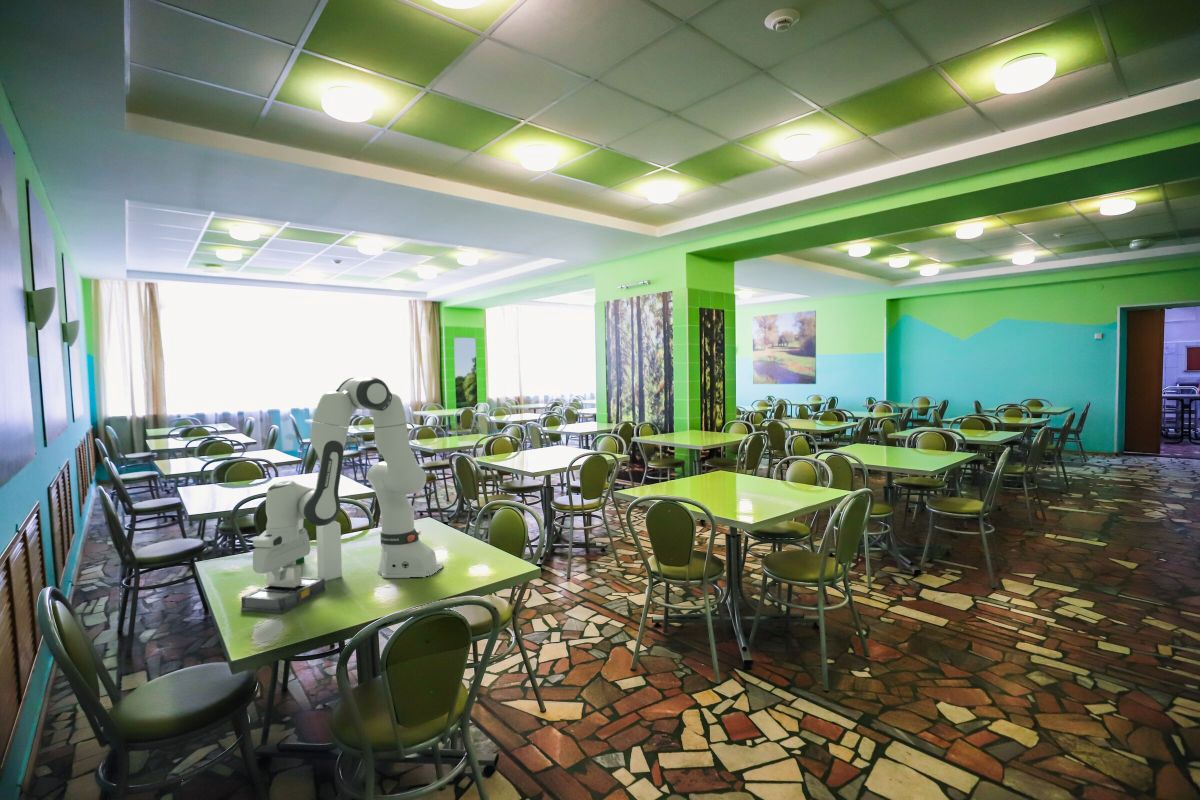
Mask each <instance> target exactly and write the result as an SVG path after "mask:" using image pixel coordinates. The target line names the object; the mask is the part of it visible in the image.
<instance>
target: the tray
mask: <svg viewBox="0 0 1200 800" xmlns="http://www.w3.org/2000/svg"><path fill="white" fill-rule="evenodd" d="M301 583H302V584H301V585H299V586H297V587H295V588H294V587H280V586H267V585H265V586H262V587H260V588H259V589H256V590H254V591H252V592H250V593H247V594H246V595H243V596H241V607H240V611H241V612H253V613H263V614H277V615H283V614H284V613H286V612H288V611H290V610H292V609H293V608H296V607H298V606H299V605H301V604H302V603H305V602H307V601H308V600H310V599H312V598H313V597H316V596H317V595H319V594H321V593H323V592H325V591H326V581H325V578H319V577H310V576H308V577H307V576H301Z"/></svg>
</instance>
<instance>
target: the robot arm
mask: <svg viewBox="0 0 1200 800" xmlns="http://www.w3.org/2000/svg"><path fill="white" fill-rule="evenodd" d="M357 410H368V411H369V412H370V413H371V416H372V423H373V431H374V441H375V446H376V450H377V451H378V452H379V454H380V455H381V456H382V457H383V459H384V461H378V462H376V463H374V464H373V465H371V466H370V468H369V469H368V472H367V481H368V483H369V484H370V485H371V487H372V489H373V491H374V492H375V494H376V498H377V501H378V505H379V509H380V520H381V531H380V545H381V549H380V551H381V552H380V553H381V554H380V561H379V566H378V570H377V573H378V574H379V575H381V578H383V579H402V578H403V579H405V578H406V579H411V578H410V577H423V578H427V577H426V576H428V577H430V576H433V575H434V573H435V572H436V573H438V572H439V571H440V570H439V569H440V568H441V567H442V566H443V567H444V564H443V562H439V561H437V556H436V553H435V551H434V549H432V548H431V547H430V546H428V545H427V544H426V543H425V542H424V541H422V540H420V535H421V533H422V532H421V531H418V532H417V530H416V529H415V515H414V514H415V513H414V507H413V505H412V504H411V502H410V501H409V499H408V496H407V495H413V494H417V493H420V492H421V491H422V490H423V489H424V488H425V486H426V483H427V474H426V471H425V470H424V469H423V468H422V467H421V465H420V464H419V462H418V461H417V460H416V457H415V456H414V455H415V454H414V453H413V450H412V447H411V444H410V439H409V433H408V425H407V417H406V412H405V407H404V404H403V402H402V398H401V397H400V396H399V395H397V394H395V393H391V391H390V389H389V386H388V385H387V384H386V383H385V382H384V381H383V380H381V379H380V378H377V377H373V376H371V377H370V376H369V377H368V376H359V377H351V378H348V379H346V380H344V381H343V382H342V383H341V384H340V385H339V387H338V388H337V389H336V390H335V391H334V390H331V391H328V392H325V393H324V394H322V396H321V398H320V399H319V400H318V403H317V406H316V409H315V411H314V414H313V417H312V422H311V427H310V433H309V437H310V438H309V441H310V444H311V446H312V448H313V449H314V450H315V452H316V455H317V457H318V460H319V467H318V474H317V480H316V485H315V488H313V487H308V486H304V485H301V484H299V483H297V482H295V481H293V480H285V481H280V482H277V483H274V484H272V485H271V486H270V487H268V489H267V491H266V496H265V514H266V517H267V518H266V519H267V521H266V524H265V528H266V530H264V531H262V533H261V534H260V535H258V536H257V537H256V538H255V539H253V540H252V546H253V547H254V549H253V552H252V569H253V572H255V574H266V573H267V572H269V571H271V572H272V573H273V575H274V580H275V581H280V580H282V579H283V574H280V572H279V570H280V567H281V566H283V565H285V564H290V565H295V564H296V560H297V559H299V558H302V557H304V558H305V557H306V556H308V555H310V552H311V545H310V544H311V543H310V537H309V534H308V530H307V529H306V528H305V527H304V526H303V527H302V528H299V523H298V522H299V520H300V519H305V520H307V521H308V522H309V523H310V524H311V525H313V526H324V525H327V524H330V523H331V522H333V521H336V519H337V518H338V516H339V514H340V511H341V501H340V496H339V487H340V480H341V475H342V468H343V461H344V459H343V458H344V452H345V445H346V441H347V438H348V433H349V428H350V423H351V419H352V417H353V414H354V413H355V412H356V411H357ZM296 565H297V564H296ZM443 567H442V568H443ZM438 570H439V571H438ZM437 571H438V572H437ZM436 573H435V574H436ZM432 574H433V575H432ZM429 575H430V576H429Z"/></svg>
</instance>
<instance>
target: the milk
mask: <svg viewBox="0 0 1200 800" xmlns="http://www.w3.org/2000/svg"><path fill="white" fill-rule="evenodd" d="M315 526H316V525H315ZM341 532H342V531H341V522H338V521H336V520H334V521H333V522H331V523H330V524H327V525H324V526H316V532H315V534H316V559H317V560H316V562H317V578H325V582H327V581H329V580H330V581H331V580H334V579H338V578H341V577H343V571H342V570H343V569H342V565H343V564H342V538H341V537H342V533H341Z"/></svg>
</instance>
